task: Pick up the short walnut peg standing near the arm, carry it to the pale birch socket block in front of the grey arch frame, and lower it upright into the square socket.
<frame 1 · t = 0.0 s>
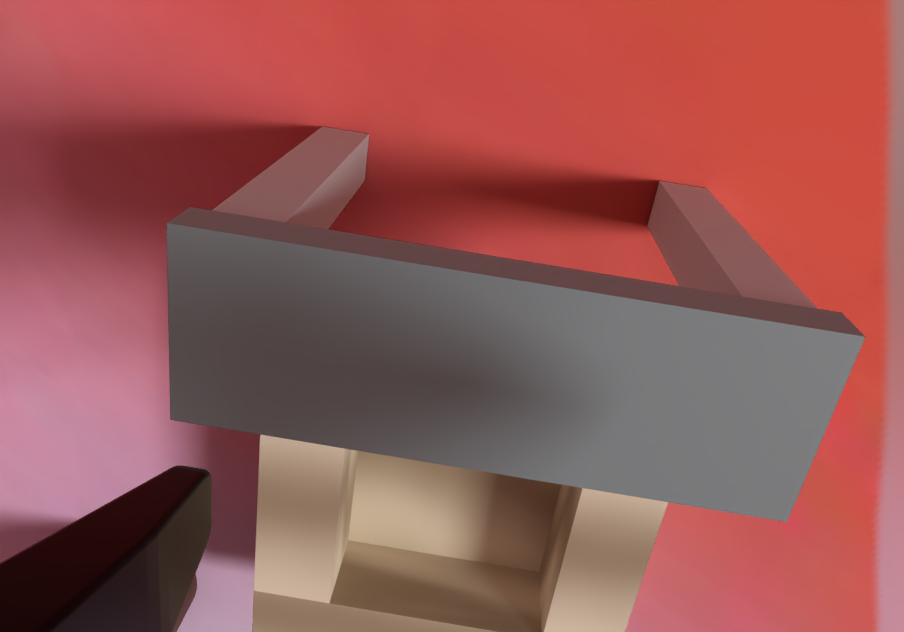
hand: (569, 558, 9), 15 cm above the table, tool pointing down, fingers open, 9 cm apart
socket block: (459, 460, 26), on the table
peg: (135, 573, 30), on the table
grey arch frame: (502, 219, 22), on the table
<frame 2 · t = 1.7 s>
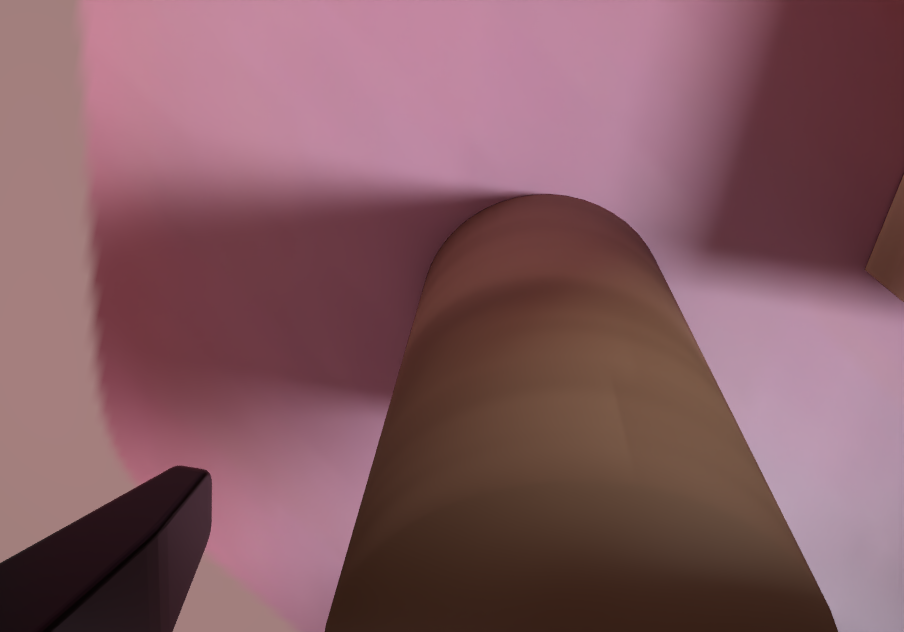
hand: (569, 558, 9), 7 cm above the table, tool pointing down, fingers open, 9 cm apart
peg: (541, 311, 15), on the table
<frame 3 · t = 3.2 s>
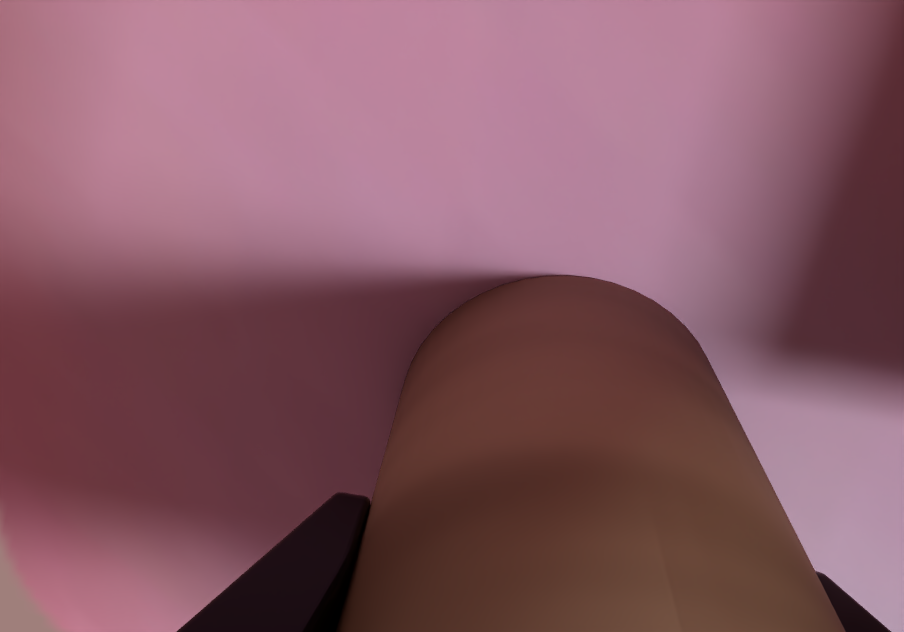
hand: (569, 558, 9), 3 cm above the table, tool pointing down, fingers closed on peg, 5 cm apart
peg: (556, 422, 12), on the table, touching gripper
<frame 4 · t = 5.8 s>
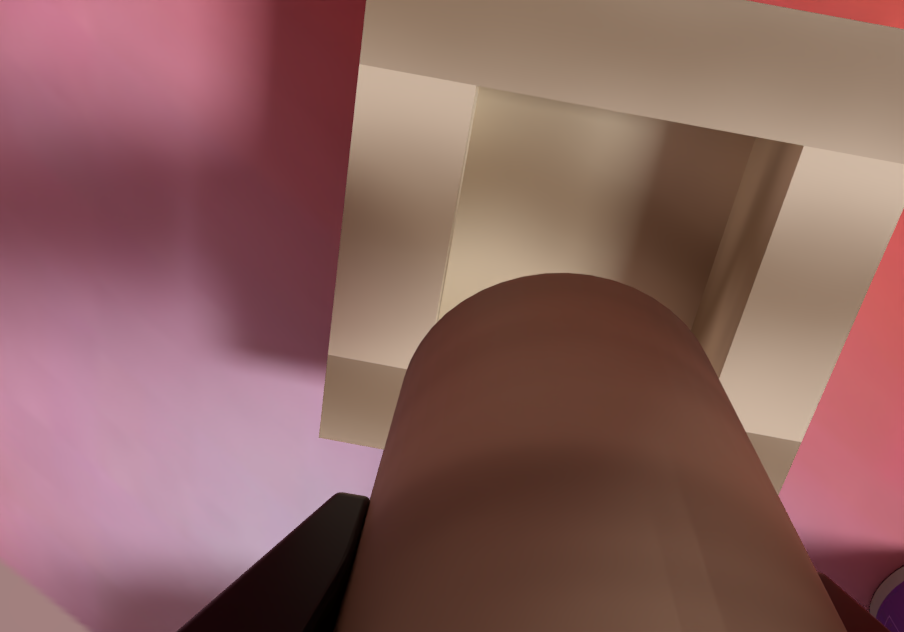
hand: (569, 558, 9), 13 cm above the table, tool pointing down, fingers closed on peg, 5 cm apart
socket block: (584, 218, 21), on the table
peg: (556, 420, 12), point 10 cm above the table, touching gripper
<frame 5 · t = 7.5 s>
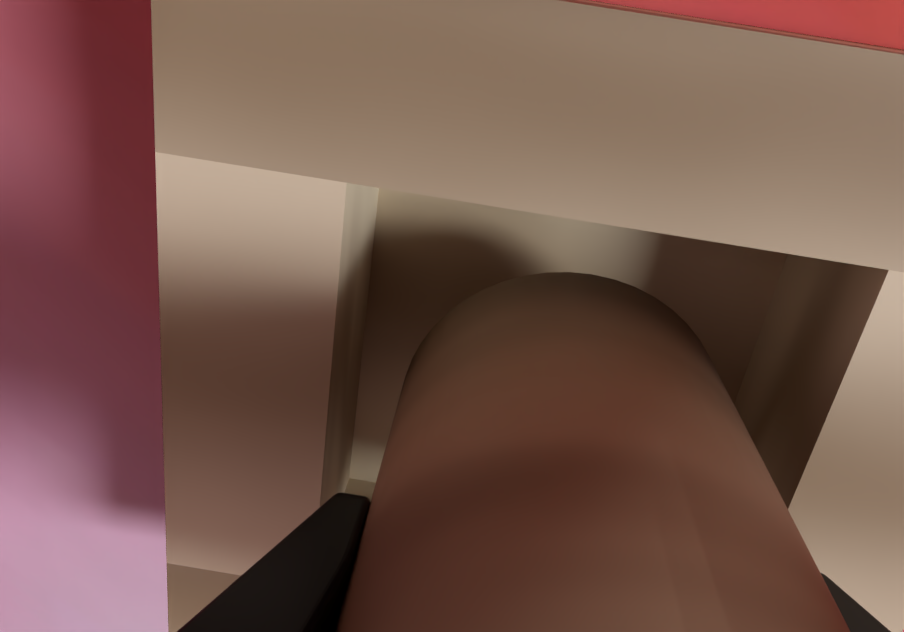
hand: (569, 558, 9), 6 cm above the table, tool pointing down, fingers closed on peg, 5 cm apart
socket block: (549, 332, 15), on the table
peg: (557, 419, 12), point 3 cm above the table, touching gripper
when the fingers open (5 cm above the table, at t = 8.7 s): peg stays where it is, resting on socket block.
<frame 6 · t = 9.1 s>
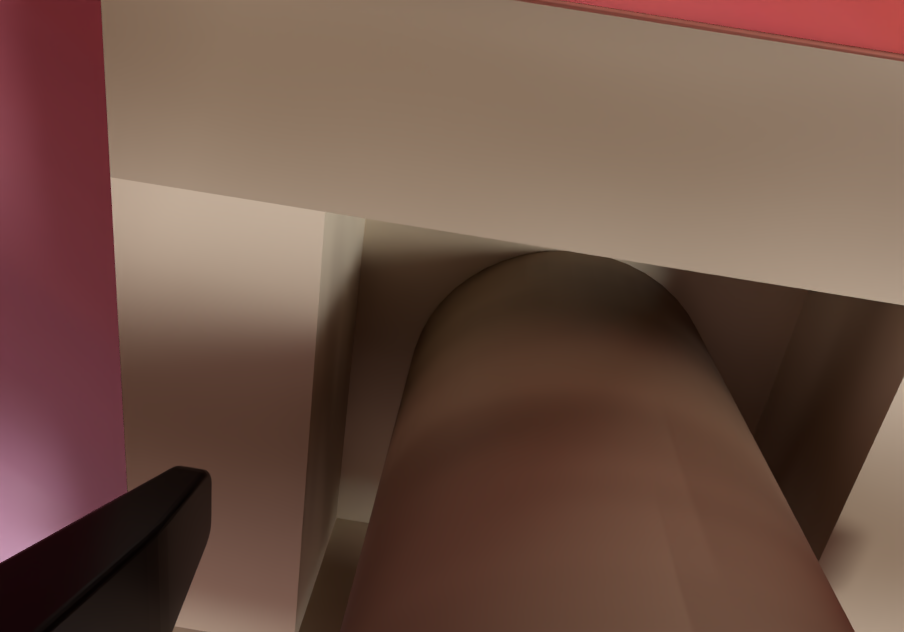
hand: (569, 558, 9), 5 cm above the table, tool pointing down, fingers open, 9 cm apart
socket block: (551, 363, 14), on the table
peg: (556, 389, 13), point 1 cm above the table, touching socket block
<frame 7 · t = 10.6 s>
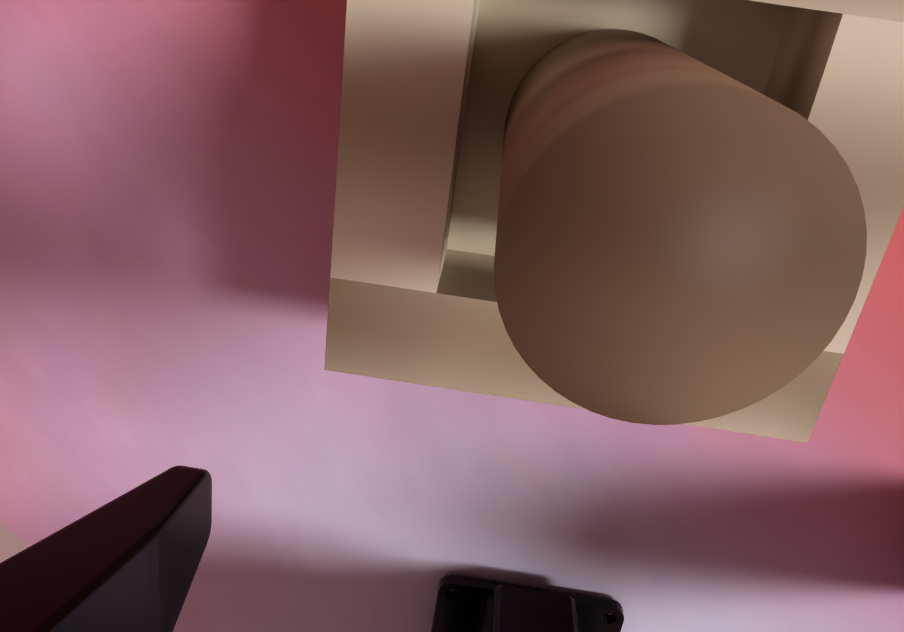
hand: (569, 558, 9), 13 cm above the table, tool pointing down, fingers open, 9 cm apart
socket block: (599, 129, 19), on the table
peg: (605, 136, 18), point 1 cm above the table, touching socket block
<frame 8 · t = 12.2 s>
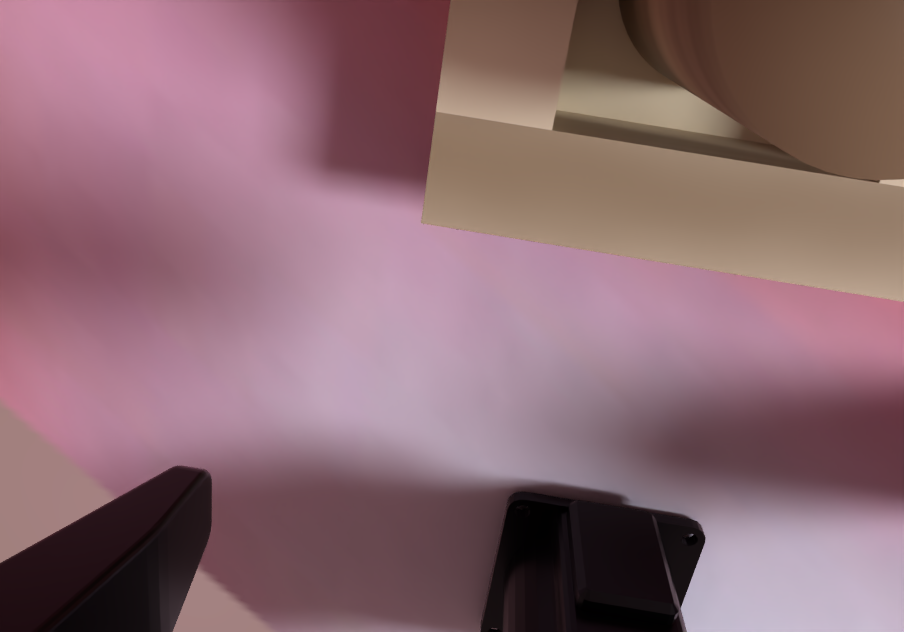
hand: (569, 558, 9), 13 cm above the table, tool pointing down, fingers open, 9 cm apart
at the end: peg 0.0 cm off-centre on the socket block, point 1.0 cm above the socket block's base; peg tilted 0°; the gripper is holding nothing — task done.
